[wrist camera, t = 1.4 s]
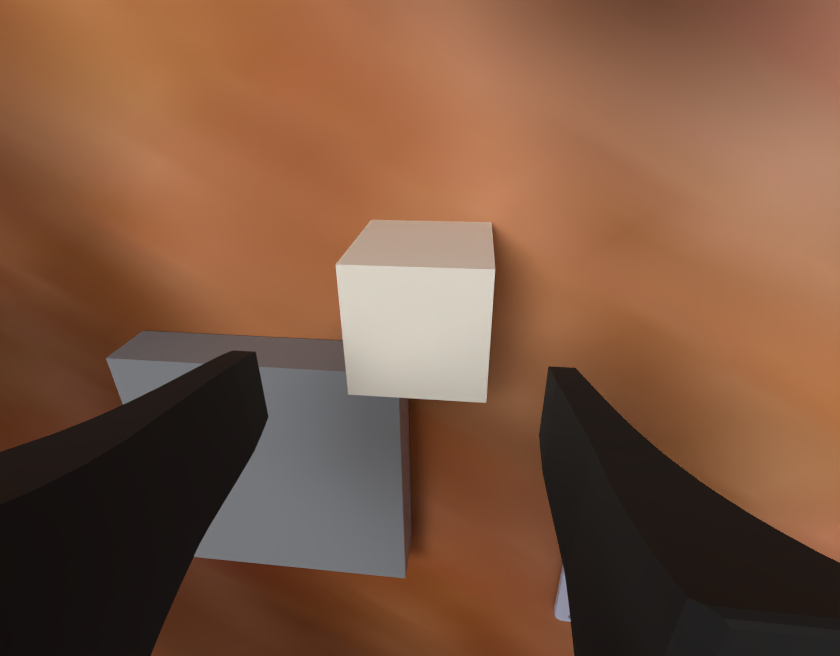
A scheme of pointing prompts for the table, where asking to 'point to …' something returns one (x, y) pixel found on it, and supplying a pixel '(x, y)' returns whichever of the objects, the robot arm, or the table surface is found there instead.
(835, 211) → the table surface
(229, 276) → the table surface
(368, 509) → the plate
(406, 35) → the table surface
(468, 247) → the block
